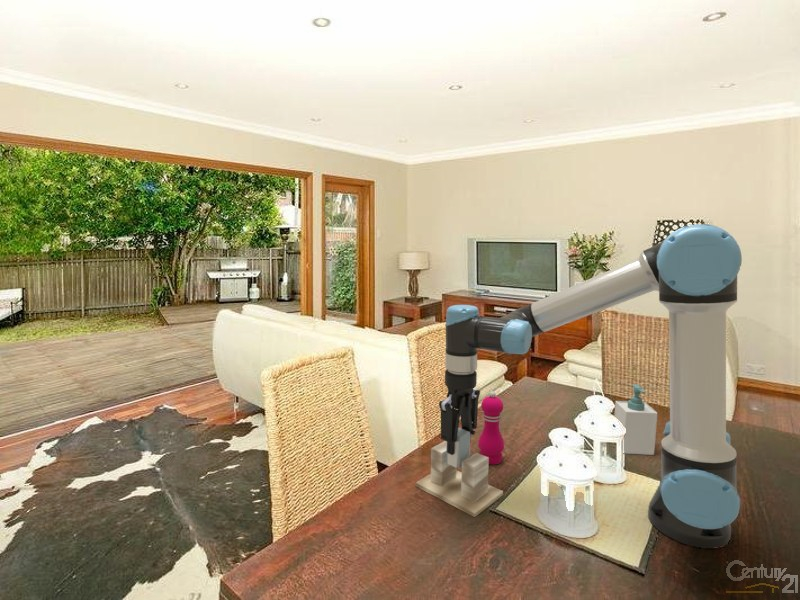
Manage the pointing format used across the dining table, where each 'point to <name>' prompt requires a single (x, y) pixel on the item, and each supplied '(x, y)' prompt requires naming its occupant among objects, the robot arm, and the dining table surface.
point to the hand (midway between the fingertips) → (458, 461)
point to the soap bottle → (637, 424)
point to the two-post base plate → (460, 482)
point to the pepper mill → (491, 429)
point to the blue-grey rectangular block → (462, 446)
